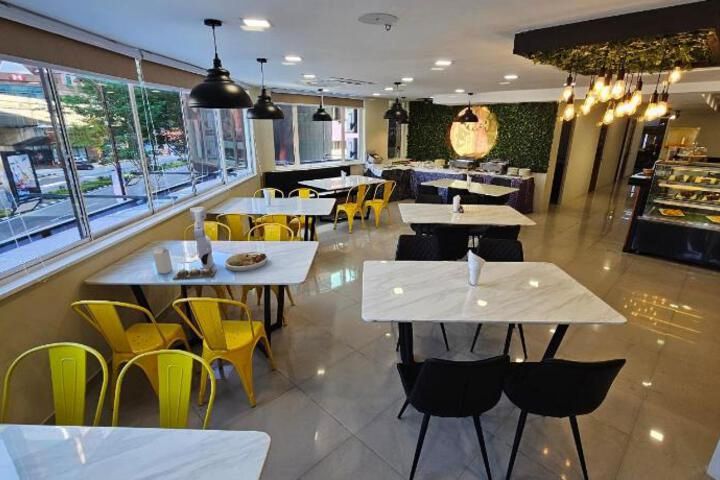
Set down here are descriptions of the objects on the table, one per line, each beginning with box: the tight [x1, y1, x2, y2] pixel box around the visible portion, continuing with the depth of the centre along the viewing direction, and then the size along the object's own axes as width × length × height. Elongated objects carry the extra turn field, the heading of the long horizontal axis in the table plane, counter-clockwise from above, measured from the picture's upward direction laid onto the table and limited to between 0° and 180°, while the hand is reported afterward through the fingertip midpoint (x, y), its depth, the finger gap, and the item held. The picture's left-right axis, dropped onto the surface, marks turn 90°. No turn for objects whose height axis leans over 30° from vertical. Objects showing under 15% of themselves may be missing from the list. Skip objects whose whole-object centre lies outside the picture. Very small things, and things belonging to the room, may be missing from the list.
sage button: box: [178, 267, 186, 274], centre depth 243 cm, size 4×4×2 cm
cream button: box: [190, 267, 198, 273], centre depth 244 cm, size 4×4×2 cm
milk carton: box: [152, 246, 173, 274], centre depth 251 cm, size 7×7×19 cm
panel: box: [172, 268, 218, 281], centre depth 245 cm, size 11×26×3 cm, turn 96°
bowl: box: [224, 251, 268, 273], centre depth 261 cm, size 30×30×8 cm
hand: (205, 264), depth 243 cm, fingers closed
